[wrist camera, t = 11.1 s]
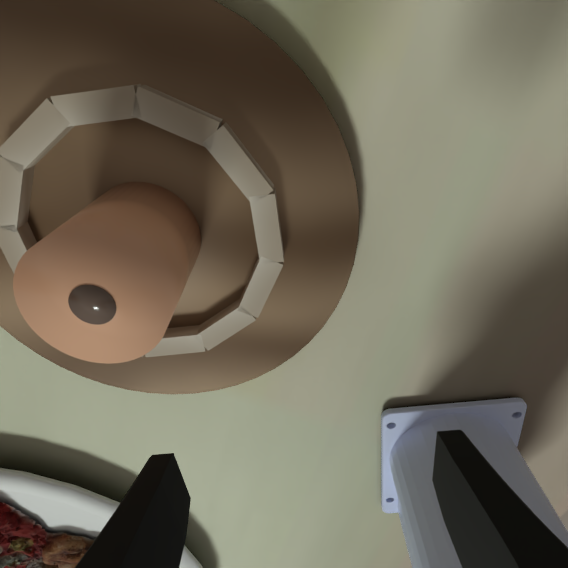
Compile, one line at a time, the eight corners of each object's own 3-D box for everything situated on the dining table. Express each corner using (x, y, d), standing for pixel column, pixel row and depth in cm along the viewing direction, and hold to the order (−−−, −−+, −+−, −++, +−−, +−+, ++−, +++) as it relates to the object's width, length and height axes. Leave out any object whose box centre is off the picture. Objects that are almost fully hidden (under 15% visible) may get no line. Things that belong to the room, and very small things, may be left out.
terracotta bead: (211, 277, 18) (184, 357, 13) (111, 288, 18) (49, 370, 13) (186, 174, 16) (144, 225, 11) (73, 188, 16) (-17, 244, 11)
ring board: (361, 367, 22) (366, 388, 20) (40, 397, 23) (24, 419, 21) (347, -63, 13) (355, -78, 11) (-175, 17, 14) (-226, 12, 12)
